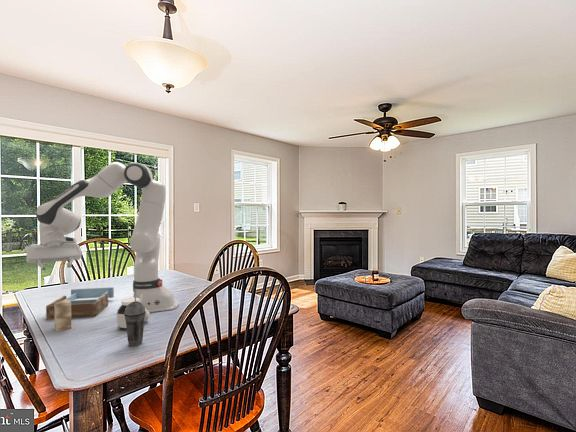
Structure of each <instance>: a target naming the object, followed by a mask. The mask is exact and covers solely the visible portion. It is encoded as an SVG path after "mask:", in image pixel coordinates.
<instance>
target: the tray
mask: <svg viewBox="0 0 576 432" xmlns="http://www.w3.org/2000/svg"><path fill="white" fill-rule="evenodd" d="M114 291H115V290H114V286H113V287H112V286H109V287H107V286H106V287H89V288H88V287H87V288H71V289H70V295H69V296H68V297H66V299H64V300H70V301H71V304H81V303H94V302H95V301H97V300H98V299H99V298H101V297H102V296H103V295H104V294H108V299H113V298H115V296H114V295H115V292H114Z"/></svg>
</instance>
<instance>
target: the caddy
mask: <svg viewBox="0 0 576 432" xmlns="http://www.w3.org/2000/svg"><path fill="white" fill-rule="evenodd" d="M66 298H67V295H63V296H61V297H59V298H57V299H56V300H54V301H53V302H51V303H49V304H47V305H46V306H45V310H46V311H45V313H46V314H45V316H46V318H45V319H46V320H55V308H54V302H57V301H63V300H64V299H66ZM108 306H109V298H108V294H104V295H103V296H102V297H101V298H99V299H98V300H97V301H95V302H94V303H81V304H71V319H73V318H74V319H75V318H87V317H88V318H89V317H97V316H98V315H99V314H100V313H101V312H102V311H103V310H104V309H106V308H107V307H108Z"/></svg>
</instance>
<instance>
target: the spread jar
mask: <svg viewBox="0 0 576 432" xmlns="http://www.w3.org/2000/svg"><path fill="white" fill-rule="evenodd" d="M132 302H135V298H133V297H127V298H123V299H122V300H121V305H120V306H119V308H117V313H116V323H117V327H118V329H120V330H122V331H127V327H126V320H125V315H124V313H125V309H126V307H127V306H128V305H129V304H130V303H132ZM136 302H140V299H139V298H136ZM145 311H146V313H145V318H144V323H145V322H147V321H148V320H150V318H151V314H150V313H151V312H149V311H148V310H147V309H146V308H145Z"/></svg>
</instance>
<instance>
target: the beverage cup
mask: <svg viewBox="0 0 576 432" xmlns="http://www.w3.org/2000/svg"><path fill="white" fill-rule="evenodd" d="M145 313H146V311H145V307H144V305H143V304H142V303H140V302H136V289H135V302H132V303H130V304H129V305H128V306H127V307H126V309H125V313H124V315H125V320H126V327H127V330H126V336H127V344H128V347H130V348H131V347H139V346H140V345H142V344H143V337H144V326H145V322H144V318H145Z"/></svg>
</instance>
